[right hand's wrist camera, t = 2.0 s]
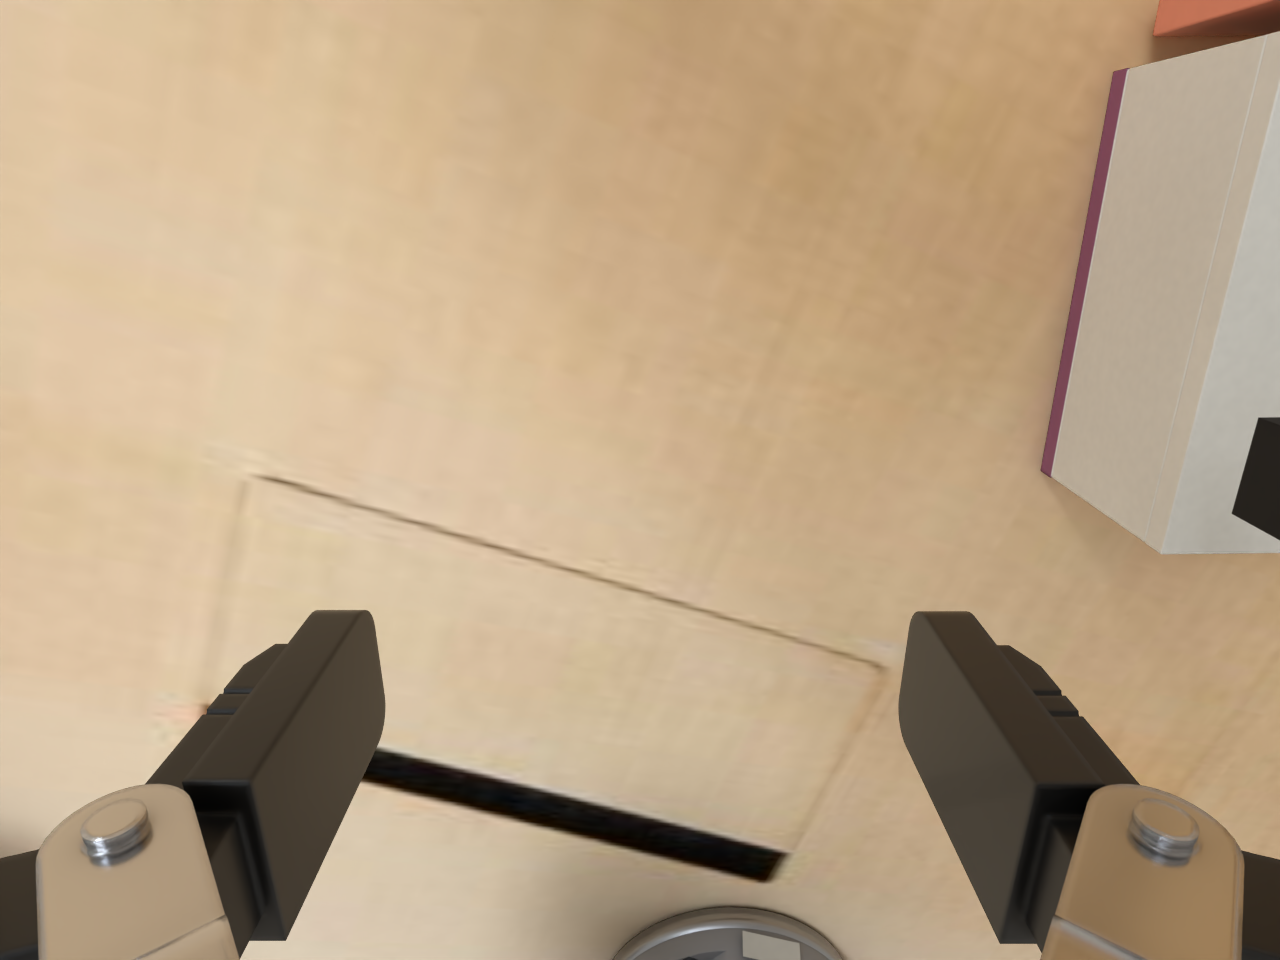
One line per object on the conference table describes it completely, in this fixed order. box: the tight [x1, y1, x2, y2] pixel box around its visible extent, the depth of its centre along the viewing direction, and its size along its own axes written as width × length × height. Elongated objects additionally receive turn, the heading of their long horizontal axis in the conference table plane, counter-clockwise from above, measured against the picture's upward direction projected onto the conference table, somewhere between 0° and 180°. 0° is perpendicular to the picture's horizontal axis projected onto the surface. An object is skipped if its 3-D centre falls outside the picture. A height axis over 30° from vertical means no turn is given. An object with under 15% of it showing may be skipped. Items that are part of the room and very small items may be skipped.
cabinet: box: [1041, 31, 1280, 554], centre depth 28 cm, size 16×10×9 cm, turn 1°
